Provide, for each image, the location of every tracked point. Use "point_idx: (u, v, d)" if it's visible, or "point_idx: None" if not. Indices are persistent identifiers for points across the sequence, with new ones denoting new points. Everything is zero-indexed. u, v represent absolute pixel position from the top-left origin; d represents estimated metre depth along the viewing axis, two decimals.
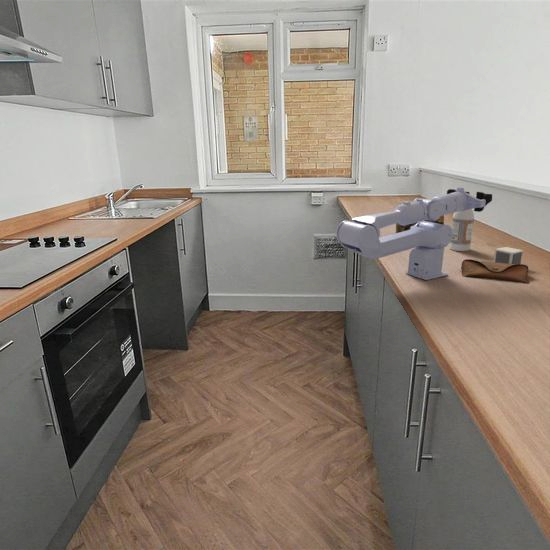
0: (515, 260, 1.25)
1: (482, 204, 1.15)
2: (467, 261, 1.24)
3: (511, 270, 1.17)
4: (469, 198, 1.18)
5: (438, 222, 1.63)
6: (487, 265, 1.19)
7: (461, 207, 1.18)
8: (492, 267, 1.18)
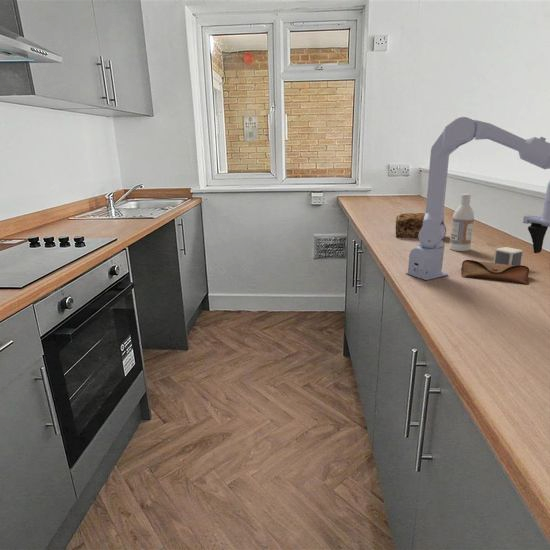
0: (515, 260, 1.25)
1: None
2: (467, 262, 1.23)
3: (511, 271, 1.16)
4: None
5: None
6: (487, 266, 1.18)
7: None
8: (492, 268, 1.18)
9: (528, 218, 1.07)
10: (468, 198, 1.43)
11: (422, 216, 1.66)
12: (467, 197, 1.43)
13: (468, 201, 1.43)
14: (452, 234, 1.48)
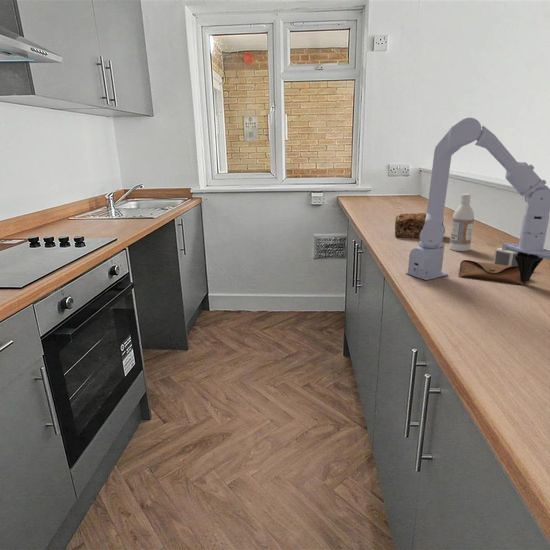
0: (515, 260, 1.25)
1: None
2: (465, 262, 1.23)
3: (508, 271, 1.15)
4: None
5: None
6: (484, 266, 1.18)
7: (538, 243, 1.06)
8: (489, 268, 1.17)
9: (506, 246, 1.14)
10: (468, 198, 1.43)
11: (421, 216, 1.65)
12: (467, 197, 1.43)
13: (468, 201, 1.43)
14: (452, 234, 1.48)
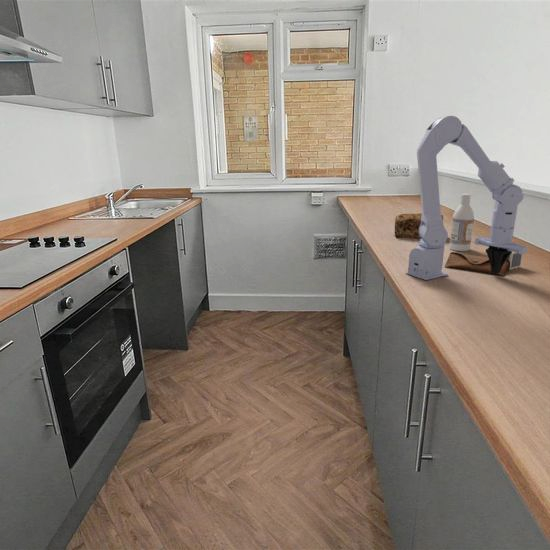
0: (515, 260, 1.25)
1: (524, 249, 1.11)
2: (453, 254, 1.32)
3: None
4: (513, 245, 1.15)
5: None
6: (468, 258, 1.27)
7: (506, 237, 1.13)
8: (473, 260, 1.26)
9: (479, 240, 1.21)
10: (468, 198, 1.43)
11: None
12: (467, 197, 1.43)
13: (468, 201, 1.43)
14: (452, 234, 1.48)
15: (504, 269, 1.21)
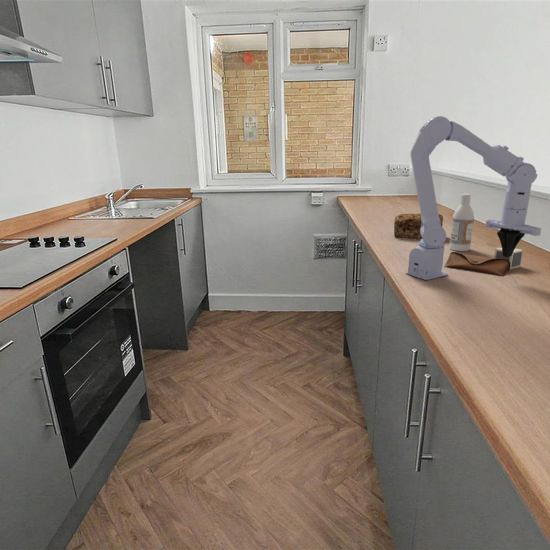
0: (516, 260, 1.26)
1: (538, 230, 1.07)
2: (453, 253, 1.32)
3: (490, 263, 1.24)
4: None
5: None
6: (468, 258, 1.27)
7: (519, 219, 1.09)
8: (472, 260, 1.26)
9: (490, 222, 1.17)
10: (468, 198, 1.43)
11: None
12: (467, 197, 1.43)
13: (468, 201, 1.43)
14: (452, 234, 1.48)
15: (504, 269, 1.21)
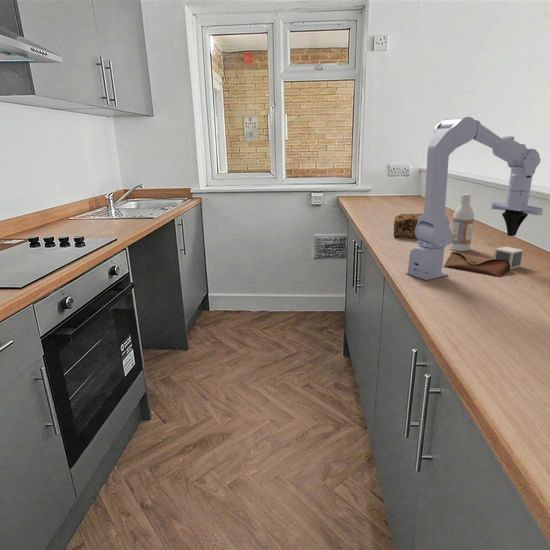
0: (516, 260, 1.26)
1: (540, 210, 1.17)
2: (453, 254, 1.32)
3: (489, 264, 1.23)
4: None
5: None
6: (467, 258, 1.27)
7: (523, 200, 1.20)
8: (471, 260, 1.26)
9: (495, 205, 1.27)
10: (468, 198, 1.43)
11: None
12: (467, 197, 1.43)
13: (468, 201, 1.43)
14: (452, 234, 1.48)
15: (502, 270, 1.20)
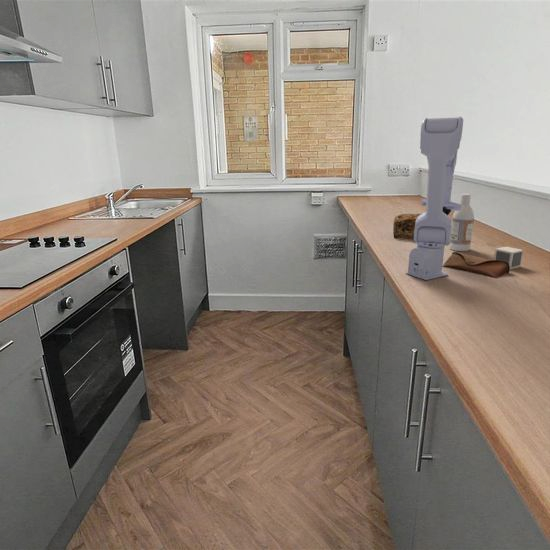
0: (516, 260, 1.26)
1: (458, 206, 1.27)
2: (454, 254, 1.32)
3: (487, 264, 1.22)
4: None
5: None
6: (466, 258, 1.26)
7: (444, 197, 1.30)
8: (470, 260, 1.25)
9: (424, 201, 1.38)
10: (468, 198, 1.43)
11: None
12: (467, 197, 1.43)
13: (468, 201, 1.43)
14: (452, 234, 1.48)
15: (500, 271, 1.20)
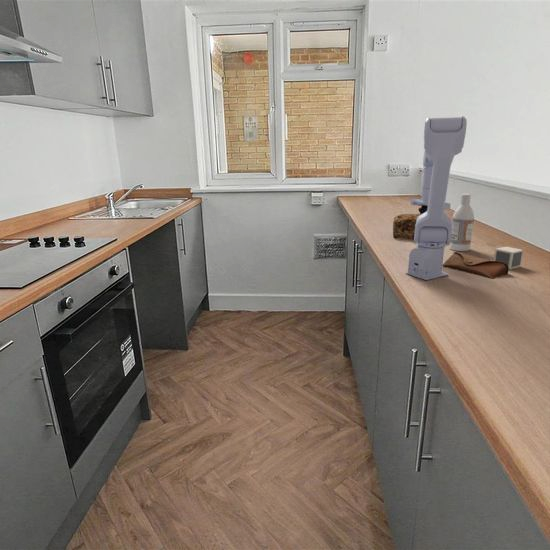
0: (516, 260, 1.26)
1: (448, 205, 1.29)
2: (454, 254, 1.32)
3: (485, 265, 1.22)
4: None
5: None
6: (465, 258, 1.26)
7: None
8: (468, 260, 1.25)
9: (414, 201, 1.39)
10: (468, 198, 1.43)
11: None
12: (467, 197, 1.43)
13: (468, 201, 1.43)
14: (452, 234, 1.48)
15: (497, 272, 1.19)
